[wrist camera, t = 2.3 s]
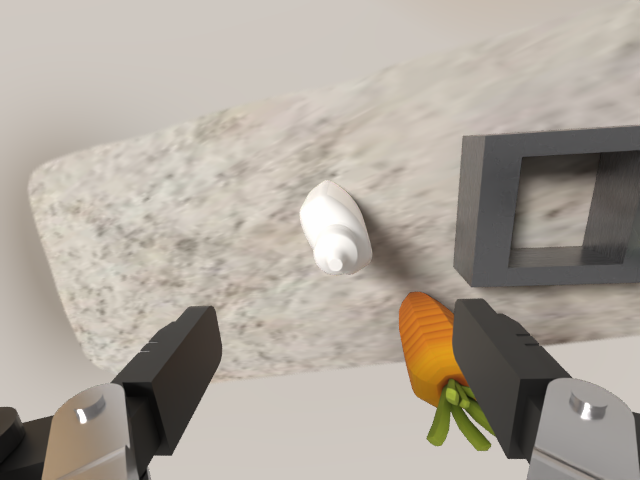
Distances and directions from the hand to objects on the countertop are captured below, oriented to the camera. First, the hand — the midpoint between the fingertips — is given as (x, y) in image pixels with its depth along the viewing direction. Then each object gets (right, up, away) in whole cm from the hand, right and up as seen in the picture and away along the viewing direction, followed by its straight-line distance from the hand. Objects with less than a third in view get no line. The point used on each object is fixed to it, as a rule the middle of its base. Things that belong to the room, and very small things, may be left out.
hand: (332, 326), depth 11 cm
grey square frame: (+17, +6, +15) cm, 24 cm away
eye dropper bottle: (+1, +5, +17) cm, 18 cm away
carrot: (+8, -2, +19) cm, 20 cm away
